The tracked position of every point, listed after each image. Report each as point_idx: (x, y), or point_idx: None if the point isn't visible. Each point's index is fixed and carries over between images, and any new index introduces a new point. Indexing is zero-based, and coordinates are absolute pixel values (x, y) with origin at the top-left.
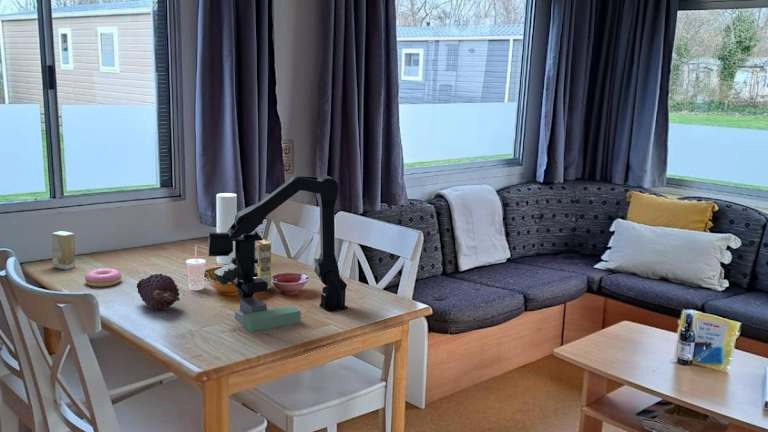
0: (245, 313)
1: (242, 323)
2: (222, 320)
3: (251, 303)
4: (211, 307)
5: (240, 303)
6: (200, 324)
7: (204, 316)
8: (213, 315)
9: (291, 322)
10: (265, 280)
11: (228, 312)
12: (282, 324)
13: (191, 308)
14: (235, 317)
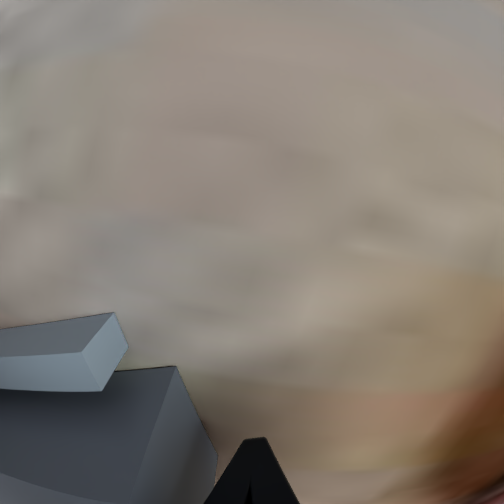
0: (53, 406)
1: (3, 330)
2: (79, 189)
3: (9, 492)
4: (491, 156)
5: (127, 460)
6: (51, 5)
7: (249, 21)
8: (255, 111)
9: None
10: None
11: (308, 288)
12: None
13: (486, 3)
14: (96, 319)
